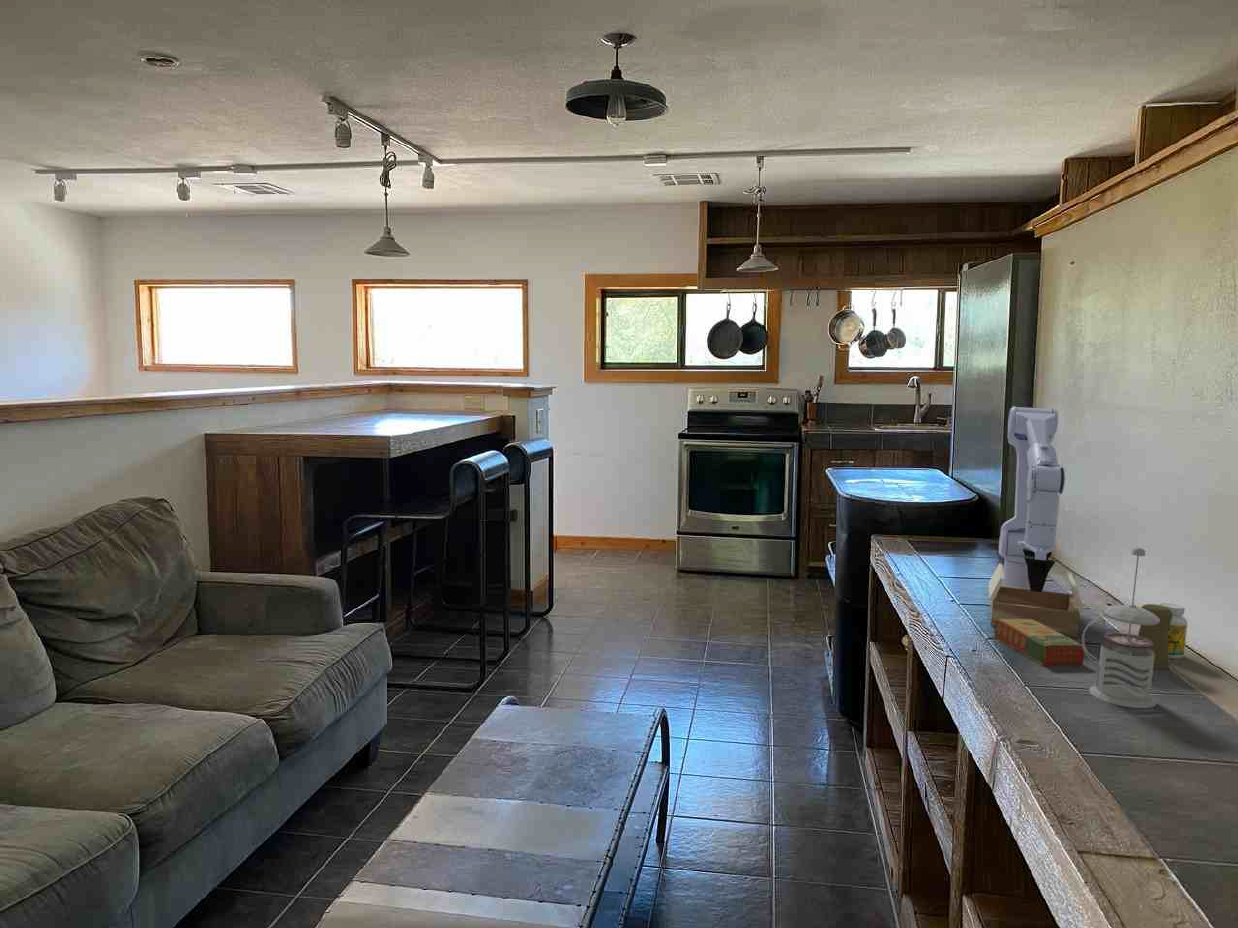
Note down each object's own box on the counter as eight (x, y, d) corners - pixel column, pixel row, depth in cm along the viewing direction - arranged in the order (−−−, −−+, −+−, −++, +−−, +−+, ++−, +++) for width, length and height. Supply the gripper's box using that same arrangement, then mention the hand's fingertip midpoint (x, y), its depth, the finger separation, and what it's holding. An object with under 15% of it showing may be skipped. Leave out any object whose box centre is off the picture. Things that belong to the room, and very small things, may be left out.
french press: (1155, 713, 142) (1174, 557, 139) (1073, 695, 148) (1089, 546, 145) (1157, 694, 150) (1175, 547, 147) (1079, 678, 156) (1095, 537, 153)
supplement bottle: (1184, 654, 172) (1190, 605, 171) (1182, 661, 168) (1188, 611, 167) (1152, 647, 175) (1157, 599, 174) (1148, 654, 171) (1154, 605, 170)
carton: (1031, 638, 179) (1034, 617, 179) (1084, 667, 164) (1087, 644, 163) (992, 638, 178) (995, 617, 177) (1042, 667, 162) (1045, 644, 162)
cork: (1155, 671, 162) (1163, 611, 160) (1123, 660, 167) (1130, 602, 165) (1176, 667, 164) (1183, 608, 163) (1144, 656, 170) (1150, 599, 168)
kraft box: (990, 606, 200) (992, 584, 200) (1070, 616, 194) (1072, 594, 194) (990, 625, 186) (993, 602, 185) (1077, 637, 180) (1080, 613, 179)
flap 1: (992, 584, 199) (988, 582, 199) (1002, 564, 198) (999, 563, 198) (993, 600, 185) (989, 599, 186) (1004, 579, 184) (1000, 577, 185)
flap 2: (1066, 572, 193) (1070, 571, 193) (1073, 594, 193) (1077, 593, 193) (1072, 587, 180) (1077, 587, 179) (1079, 612, 180) (1084, 611, 179)
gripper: (1019, 515, 196) (1013, 576, 197) (1021, 526, 182) (1015, 592, 184) (1055, 519, 193) (1048, 581, 195) (1060, 530, 180) (1053, 597, 181)
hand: (1035, 587), depth 189 cm, fingers open, 7 cm apart
